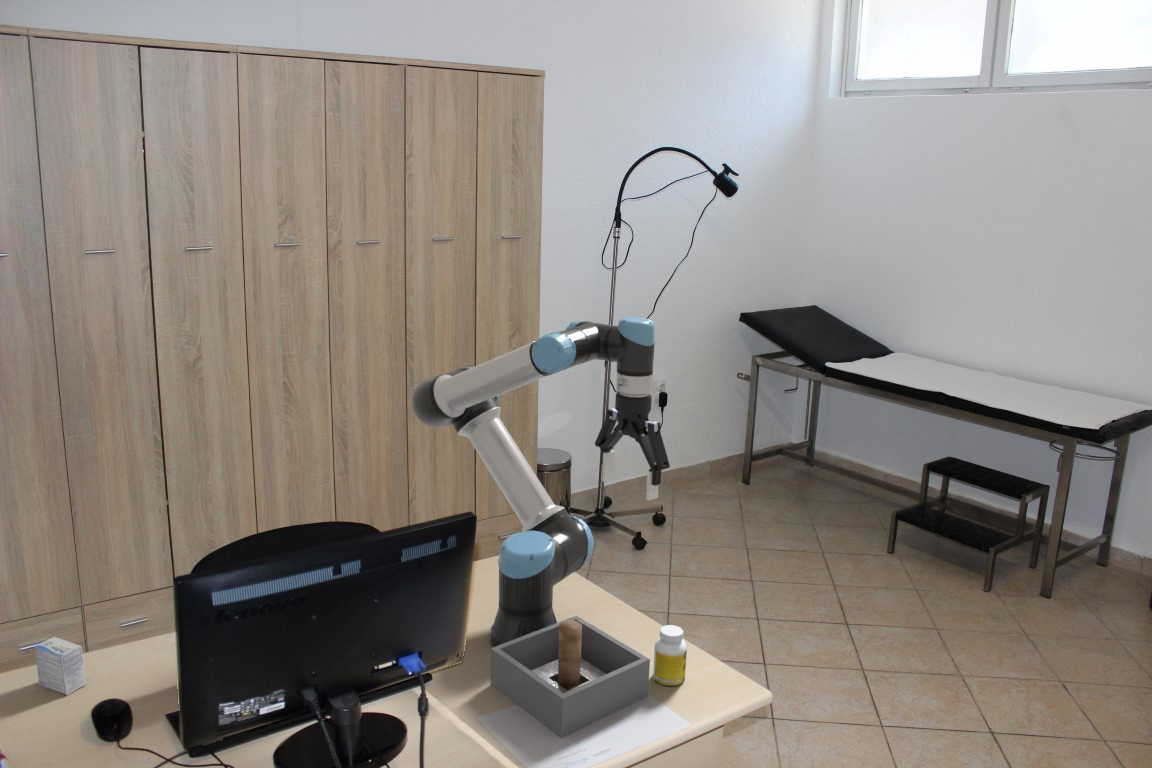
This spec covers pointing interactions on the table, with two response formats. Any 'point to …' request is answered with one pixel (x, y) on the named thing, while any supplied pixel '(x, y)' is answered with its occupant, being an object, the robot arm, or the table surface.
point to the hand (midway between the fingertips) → (629, 489)
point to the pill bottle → (670, 657)
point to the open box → (582, 703)
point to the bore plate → (551, 674)
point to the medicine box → (60, 665)
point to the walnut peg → (569, 654)
